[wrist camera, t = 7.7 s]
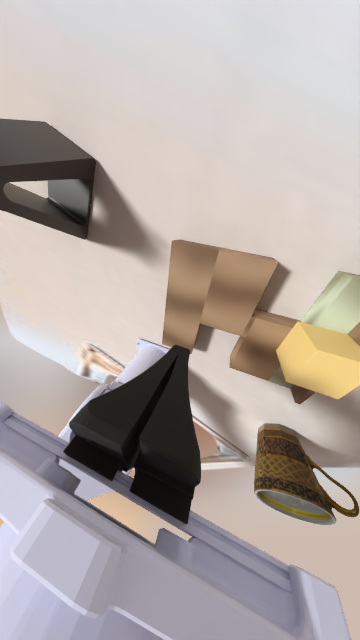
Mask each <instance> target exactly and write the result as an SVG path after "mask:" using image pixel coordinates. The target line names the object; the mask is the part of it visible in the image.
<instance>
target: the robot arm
mask: <svg viewBox="0 0 360 640" xmlns="http://www.w3.org/2000/svg"><path fill="white" fill-rule="evenodd" d="M189 355H190V349H187V348H184V347H181V346H179V345H176V344H175V345H174V346H173V347H172V348H171V349H167V348H164V347H161V346H159V345H156V344H153V343H150V342H147V341H144V340H142V339H137V354H136V355H135V356H134V358H133V359H132V360H131V361H130V363H129V364H128V365H127V366H126V368H125V369H124V370H123V371H122V373H121V374H120V375H119V376H118V378H117V379H116V380H115V381H113V382H112V383H111V385H110V386H109V385H107V384H104V385H100V386H98V387H97V388H96V389H95V390H94V391H93V392H92V393H91V394H90V395H89V396H88V397H87V399H86V400H85V401H84V402H83V403H82V405H81V406H80V407H79V408H78V410H77V411H76V412H75V413H74V414H73V416H72V417H71V418H70V420H69V422H68V424H67V425H66V427H65V428H64V429H63V430H62V432H61V433H60V434H59V436H57V435H55V434H52V433H51V432H49V431H47V430H46V429H44V428H42V427H40V426H39V425H37V424H35V423H33V422H32V421H30V420H28V419H26V418H24V417H23V416H21V415H19V414H17V413H15V412H14V411H13V409H11V407H9V406H8V405H6V404H5V403H3V402H1V401H0V518H1V519H2V520H3V521H4V523H3V524H2V526H1V527H0V640H351V637H350V634H349V630H348V627H347V624H346V619H345V616H344V612H343V609H342V605H341V602H340V598H339V594H338V591H337V590H336V588H335V587H334V586H333V585H331V584H329V583H327V582H326V581H324V580H322V579H320V578H318V577H317V576H315V575H313V574H311V573H309V572H308V571H306V570H304V569H301V568H299V567H297V566H294V565H287V564H285V563H283V562H281V561H280V560H277V559H276V558H274V557H273V556H271V555H269V554H267V553H265V552H263V551H262V550H260V549H258V548H256V547H255V546H253V545H251V544H249V543H248V542H246V541H244V540H242V539H240V538H239V537H237V536H235V535H233V534H231V533H230V532H228V531H226V530H224V529H223V528H221V527H219V526H217V525H215V524H214V523H212V522H210V521H208V520H206V519H205V518H203V517H201V516H199V515H198V514H196V513H194V512H192V511H190V507H191V501H192V499H193V494H194V489H195V487H196V486H197V485H198V484H199V483H200V480H201V461H200V450H199V446H198V442H197V438H196V434H195V429H194V424H193V419H192V413H191V407H190V400H189V391H188V360H189ZM108 386H109V387H108ZM107 387H108V388H107ZM133 467H134V468H135V476H134V479H133V478H132V477H130V476H128V475H129V473H130V472H131V470H132V469H133ZM112 491H116V492H118V493H119V494H121V495H123V496H124V497H126V498H128V499H129V500H131V501H133V502H134V503H136V504H138V505H140V506H141V507H143V508H145V509H146V510H148V511H150V512H151V513H153V514H155V515H157V516H158V517H160V518H162V519H163V520H165V521H167V522H168V523H170V524H172V525H174V526H175V527H177V528H178V529H180V530H182V531H184V532H185V533H187V534H189V535H190V536H192V537H191V538H190V539H189V540H188V542H187V541H186V540H184V539H182V538H180V537H179V536H177V535H175V534H173V533H171V532H170V531H168V530H166V529H164V528H163V529H159V532H158V536H157V540H156V543H155V544H154V543H152V542H150V541H149V540H147V539H146V538H144V537H143V536H141V535H140V534H138V533H136V532H135V531H133V530H132V529H130V528H129V527H127V526H126V525H124V524H122V523H121V522H119V521H118V520H116V519H114V518H113V517H111V516H110V515H108V514H106V513H105V512H103V511H102V510H100V509H98V508H97V507H95V506H93V505H92V504H90V503H89V502H87V501H88V500H90V499H92V498H94V497H97V496H100V495H103V494H106V493H109V492H112Z"/></svg>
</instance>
